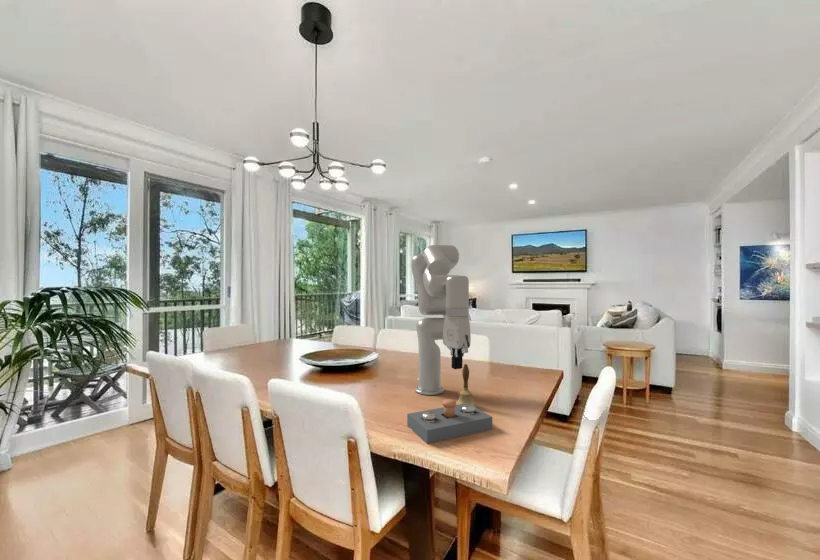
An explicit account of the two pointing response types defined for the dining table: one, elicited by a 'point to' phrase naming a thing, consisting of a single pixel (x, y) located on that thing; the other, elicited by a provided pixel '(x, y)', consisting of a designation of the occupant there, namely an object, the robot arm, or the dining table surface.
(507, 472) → the dining table surface
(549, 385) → the dining table surface
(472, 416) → the panel
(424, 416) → the ball
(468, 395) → the hand bell
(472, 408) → the silver rounded piece
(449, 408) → the peach grooved knob
